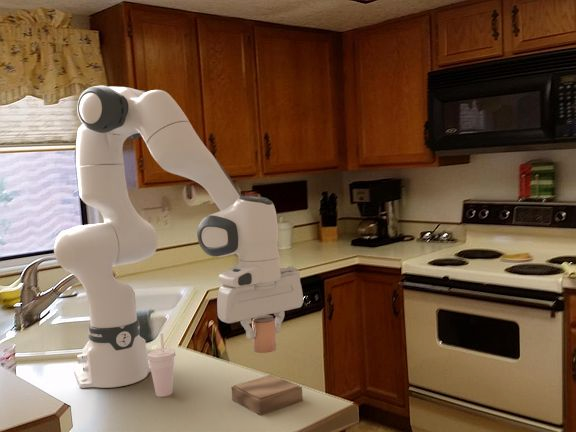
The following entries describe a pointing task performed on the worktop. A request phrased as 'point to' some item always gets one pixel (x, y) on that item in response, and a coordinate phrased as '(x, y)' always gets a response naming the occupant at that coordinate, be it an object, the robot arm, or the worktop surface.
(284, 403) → the plinth
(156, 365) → the smoothie
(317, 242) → the worktop surface
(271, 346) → the jar
